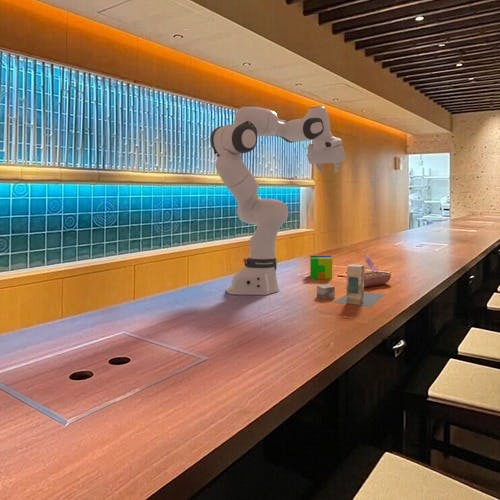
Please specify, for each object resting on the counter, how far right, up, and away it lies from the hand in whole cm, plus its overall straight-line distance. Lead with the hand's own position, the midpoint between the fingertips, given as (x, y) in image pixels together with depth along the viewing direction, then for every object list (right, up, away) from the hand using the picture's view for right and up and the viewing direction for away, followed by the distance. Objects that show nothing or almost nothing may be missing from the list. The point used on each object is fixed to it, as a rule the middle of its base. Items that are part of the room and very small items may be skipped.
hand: (328, 172), depth 215 cm
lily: (+24, -48, +20) cm, 58 cm away
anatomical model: (+17, -52, -7) cm, 55 cm away
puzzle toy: (-1, -49, +14) cm, 51 cm away
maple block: (+3, -55, -39) cm, 68 cm away
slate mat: (+7, -55, -33) cm, 65 cm away
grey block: (-7, -55, -31) cm, 63 cm away
